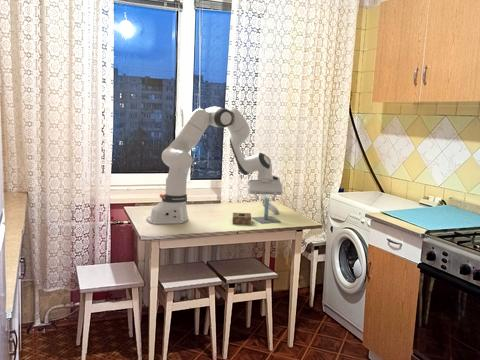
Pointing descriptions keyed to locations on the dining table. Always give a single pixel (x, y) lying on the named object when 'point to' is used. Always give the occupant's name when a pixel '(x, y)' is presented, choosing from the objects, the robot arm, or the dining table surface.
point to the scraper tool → (266, 208)
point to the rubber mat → (262, 221)
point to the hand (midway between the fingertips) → (265, 199)
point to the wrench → (270, 205)
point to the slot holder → (242, 218)
